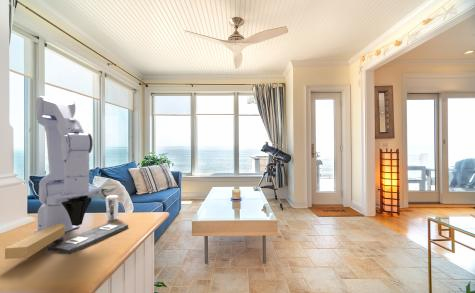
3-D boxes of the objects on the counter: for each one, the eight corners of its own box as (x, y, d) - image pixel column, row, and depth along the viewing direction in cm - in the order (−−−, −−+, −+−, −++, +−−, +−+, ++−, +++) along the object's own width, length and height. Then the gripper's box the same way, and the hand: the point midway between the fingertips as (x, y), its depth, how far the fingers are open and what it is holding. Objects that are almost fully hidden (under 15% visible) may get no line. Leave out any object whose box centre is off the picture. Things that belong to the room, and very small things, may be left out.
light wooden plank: (53, 232, 68) (53, 224, 68) (69, 231, 69) (69, 223, 69) (4, 259, 52) (4, 248, 52) (27, 257, 52) (27, 246, 52)
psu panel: (47, 250, 61) (47, 245, 61) (108, 225, 80) (108, 221, 80) (70, 253, 59) (70, 248, 59) (128, 227, 78) (128, 223, 78)
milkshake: (115, 221, 84) (115, 194, 84) (102, 221, 85) (102, 193, 86) (123, 218, 89) (123, 192, 89) (111, 217, 90) (111, 191, 90)
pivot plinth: (50, 242, 66) (50, 236, 66) (59, 239, 68) (59, 233, 68) (56, 243, 65) (56, 237, 65) (65, 240, 68) (65, 234, 68)
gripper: (61, 179, 57) (61, 235, 57) (109, 173, 71) (109, 218, 71) (40, 178, 59) (40, 232, 59) (91, 173, 73) (91, 216, 73)
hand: (76, 224), depth 65 cm, fingers closed
